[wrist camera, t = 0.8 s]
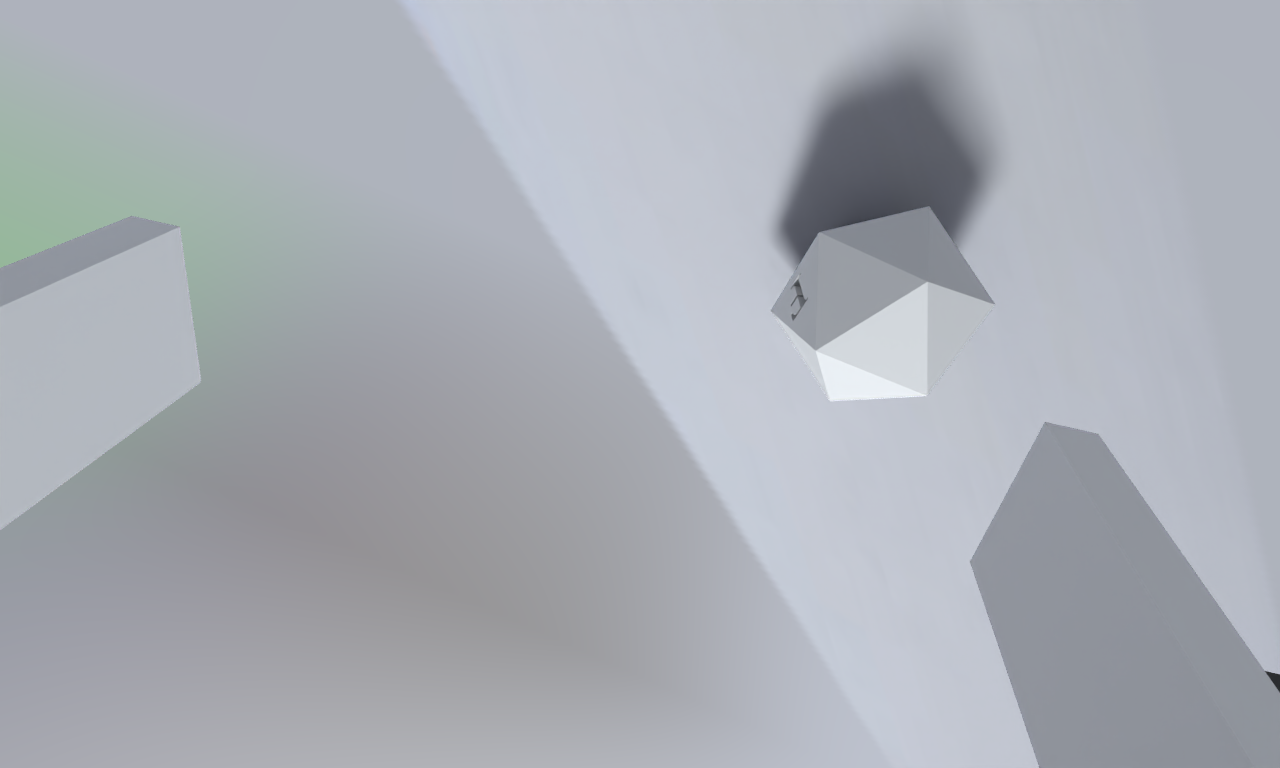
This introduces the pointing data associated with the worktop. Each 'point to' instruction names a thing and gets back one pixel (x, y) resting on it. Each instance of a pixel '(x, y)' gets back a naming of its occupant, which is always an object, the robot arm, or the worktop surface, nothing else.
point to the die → (882, 307)
